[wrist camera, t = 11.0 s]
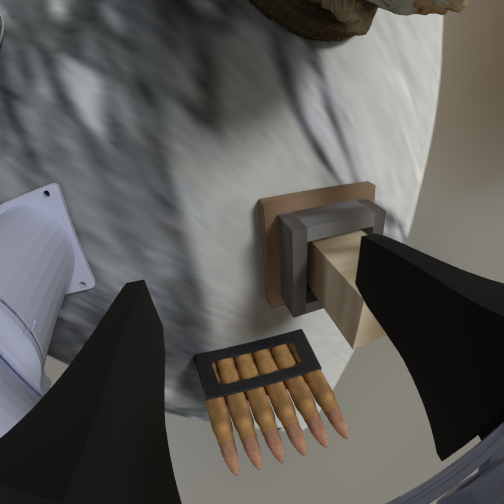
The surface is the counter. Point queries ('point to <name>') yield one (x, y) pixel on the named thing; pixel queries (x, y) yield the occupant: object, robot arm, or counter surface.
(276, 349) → the ammunition clip
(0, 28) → the supplement bottle
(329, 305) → the square peg
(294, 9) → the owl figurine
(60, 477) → the robot arm
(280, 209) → the socket
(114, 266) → the counter surface
